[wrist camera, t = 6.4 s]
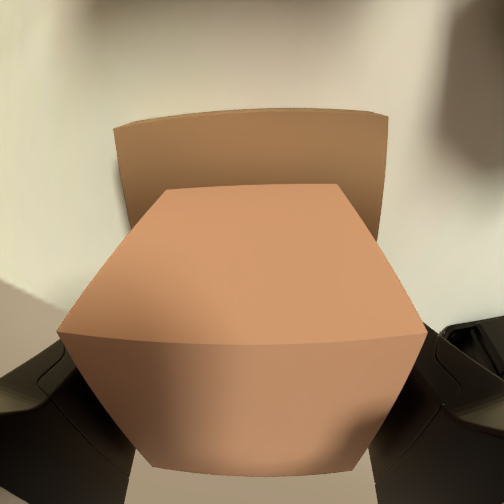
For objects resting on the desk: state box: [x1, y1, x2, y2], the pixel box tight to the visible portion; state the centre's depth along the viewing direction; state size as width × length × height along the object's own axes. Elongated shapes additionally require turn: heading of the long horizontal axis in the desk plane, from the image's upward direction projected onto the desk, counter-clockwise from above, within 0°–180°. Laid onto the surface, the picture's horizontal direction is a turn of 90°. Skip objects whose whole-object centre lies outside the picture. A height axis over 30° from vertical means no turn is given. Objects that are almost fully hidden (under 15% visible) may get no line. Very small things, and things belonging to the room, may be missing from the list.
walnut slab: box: [113, 108, 388, 242], centre depth 12 cm, size 9×9×2 cm
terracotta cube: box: [57, 184, 428, 477], centre depth 7 cm, size 5×5×6 cm
